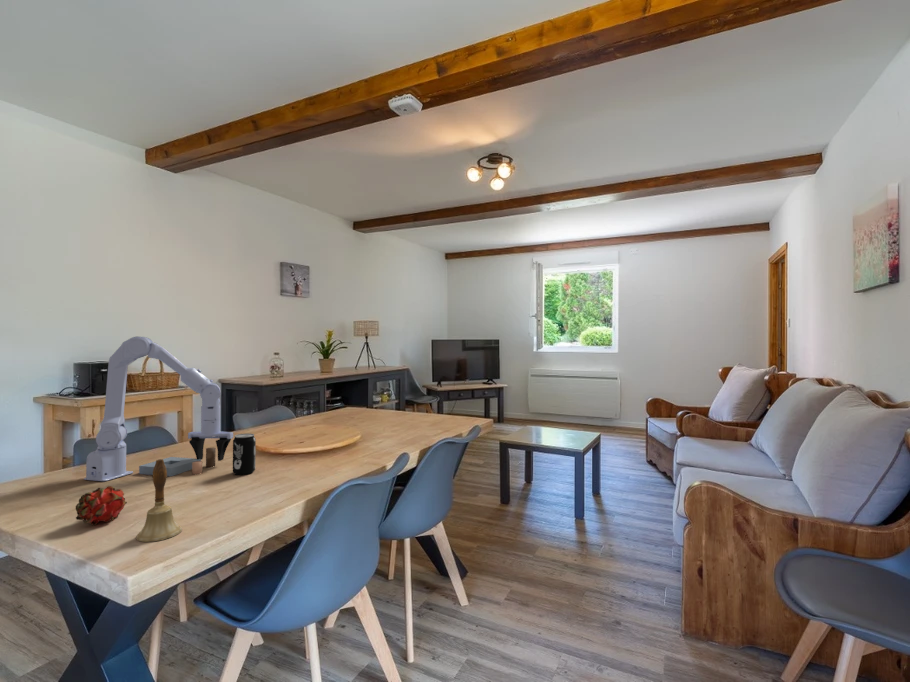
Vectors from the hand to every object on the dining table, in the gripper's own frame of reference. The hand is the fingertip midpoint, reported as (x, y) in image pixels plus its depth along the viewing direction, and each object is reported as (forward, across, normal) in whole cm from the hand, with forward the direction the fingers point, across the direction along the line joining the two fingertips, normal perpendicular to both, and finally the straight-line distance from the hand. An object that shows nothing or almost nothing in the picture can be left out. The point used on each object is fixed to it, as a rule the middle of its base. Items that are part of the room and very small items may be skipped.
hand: (210, 459), depth 152 cm
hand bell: (+2, -21, +54) cm, 58 cm away
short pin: (+2, -1, +8) cm, 9 cm away
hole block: (+2, +10, +5) cm, 12 cm away
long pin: (+2, 0, 0) cm, 2 cm away
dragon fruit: (+2, -3, +47) cm, 47 cm away
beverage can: (+2, -15, +7) cm, 17 cm away
